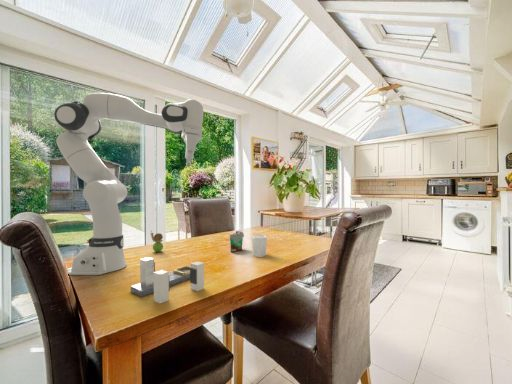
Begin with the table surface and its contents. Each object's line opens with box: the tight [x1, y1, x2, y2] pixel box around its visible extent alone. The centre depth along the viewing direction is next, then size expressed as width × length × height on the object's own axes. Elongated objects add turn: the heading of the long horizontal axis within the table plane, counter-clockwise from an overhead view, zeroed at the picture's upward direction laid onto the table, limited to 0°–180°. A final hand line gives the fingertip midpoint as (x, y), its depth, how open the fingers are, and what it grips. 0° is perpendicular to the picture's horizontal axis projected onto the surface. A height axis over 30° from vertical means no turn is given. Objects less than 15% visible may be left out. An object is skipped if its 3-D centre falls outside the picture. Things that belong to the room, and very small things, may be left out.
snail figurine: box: [150, 230, 164, 253], centre depth 135 cm, size 5×6×12 cm
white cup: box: [251, 234, 268, 258], centre depth 128 cm, size 8×8×10 cm
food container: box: [229, 230, 245, 253], centre depth 138 cm, size 12×6×10 cm, turn 168°
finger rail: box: [130, 256, 191, 298], centre depth 91 cm, size 26×7×11 cm, turn 145°
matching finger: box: [189, 261, 205, 292], centre depth 85 cm, size 4×4×9 cm
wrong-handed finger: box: [153, 269, 171, 305], centre depth 77 cm, size 4×4×9 cm
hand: (188, 164), depth 111 cm, fingers open, 8 cm apart
